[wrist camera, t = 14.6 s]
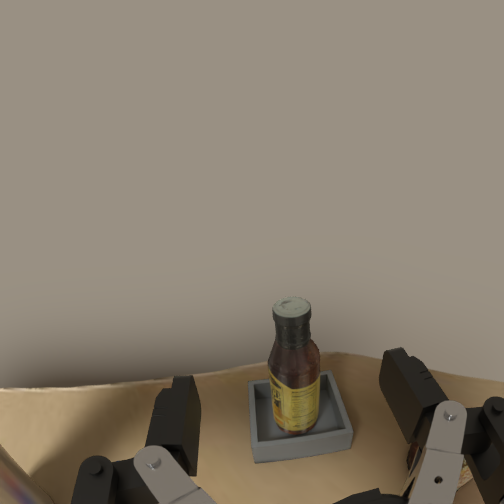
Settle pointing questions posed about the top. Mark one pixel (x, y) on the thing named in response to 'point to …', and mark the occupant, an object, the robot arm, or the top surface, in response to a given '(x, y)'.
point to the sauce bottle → (294, 368)
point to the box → (302, 445)
